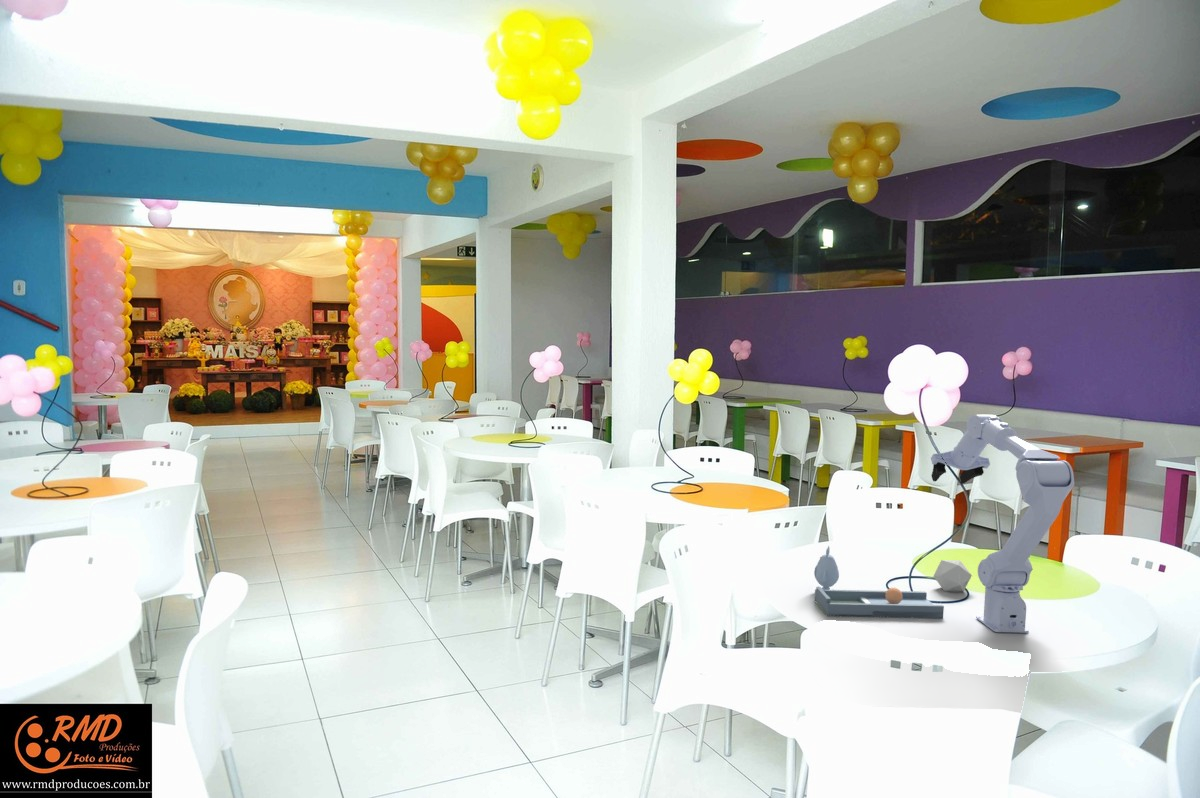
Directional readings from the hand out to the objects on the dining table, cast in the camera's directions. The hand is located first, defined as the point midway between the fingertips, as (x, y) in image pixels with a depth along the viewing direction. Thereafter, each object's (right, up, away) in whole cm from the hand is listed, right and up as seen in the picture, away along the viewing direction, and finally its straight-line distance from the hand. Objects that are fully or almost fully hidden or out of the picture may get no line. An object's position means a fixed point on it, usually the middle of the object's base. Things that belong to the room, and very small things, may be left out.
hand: (947, 479), depth 214 cm
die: (+2, -30, +1) cm, 30 cm away
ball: (-20, -27, -16) cm, 38 cm away
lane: (-24, -31, -16) cm, 42 cm away
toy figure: (-33, -30, -3) cm, 45 cm away
